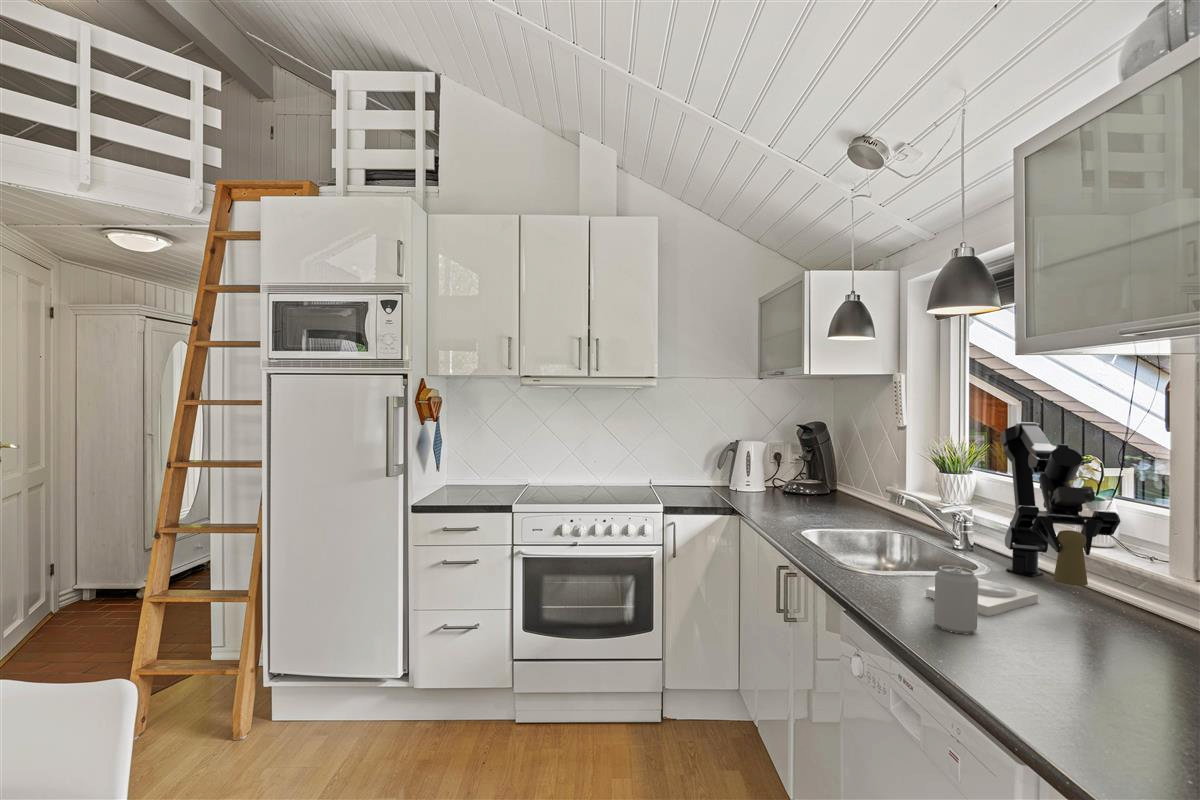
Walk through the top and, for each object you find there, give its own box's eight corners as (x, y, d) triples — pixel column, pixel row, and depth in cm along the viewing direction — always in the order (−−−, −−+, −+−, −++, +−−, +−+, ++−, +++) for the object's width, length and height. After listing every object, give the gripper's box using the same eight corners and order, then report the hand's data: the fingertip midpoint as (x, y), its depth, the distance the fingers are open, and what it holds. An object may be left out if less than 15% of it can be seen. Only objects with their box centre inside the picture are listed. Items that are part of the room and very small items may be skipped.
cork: (1093, 586, 132) (1095, 535, 132) (1061, 584, 133) (1063, 533, 133) (1078, 578, 138) (1080, 529, 138) (1047, 576, 139) (1049, 527, 139)
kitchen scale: (975, 585, 154) (976, 575, 154) (1038, 602, 142) (1038, 591, 142) (925, 597, 144) (926, 585, 144) (988, 616, 132) (988, 604, 132)
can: (928, 628, 125) (930, 568, 124) (940, 619, 130) (941, 561, 130) (971, 638, 119) (972, 576, 119) (981, 629, 125) (983, 569, 125)
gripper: (1017, 470, 142) (1030, 527, 132) (1118, 475, 136) (1139, 536, 126) (1007, 498, 150) (1019, 555, 140) (1102, 505, 143) (1121, 565, 133)
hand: (1073, 552), depth 134 cm, fingers closed on cork, 5 cm apart
